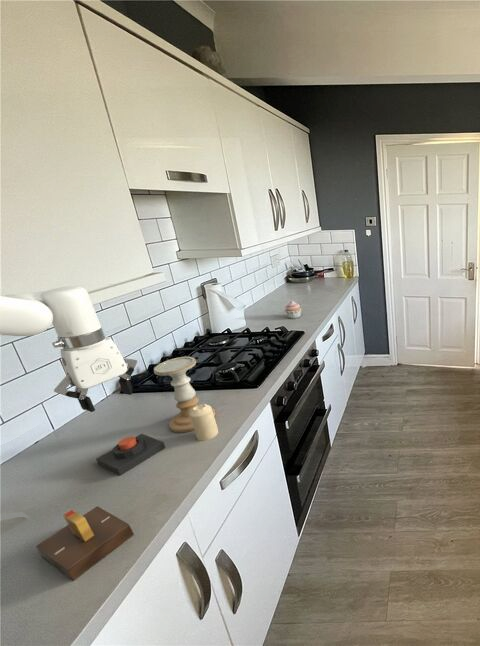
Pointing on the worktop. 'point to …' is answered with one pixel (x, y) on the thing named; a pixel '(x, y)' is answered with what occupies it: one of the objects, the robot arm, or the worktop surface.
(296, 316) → the cupcake
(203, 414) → the candle
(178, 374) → the candle holder
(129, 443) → the release button
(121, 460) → the block
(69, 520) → the lock knob
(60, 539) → the brown wooden base
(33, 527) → the worktop surface
